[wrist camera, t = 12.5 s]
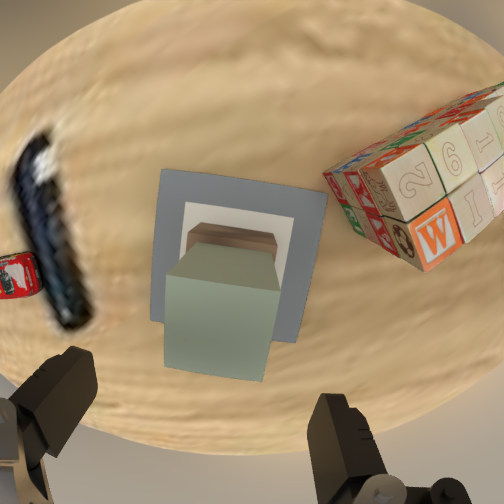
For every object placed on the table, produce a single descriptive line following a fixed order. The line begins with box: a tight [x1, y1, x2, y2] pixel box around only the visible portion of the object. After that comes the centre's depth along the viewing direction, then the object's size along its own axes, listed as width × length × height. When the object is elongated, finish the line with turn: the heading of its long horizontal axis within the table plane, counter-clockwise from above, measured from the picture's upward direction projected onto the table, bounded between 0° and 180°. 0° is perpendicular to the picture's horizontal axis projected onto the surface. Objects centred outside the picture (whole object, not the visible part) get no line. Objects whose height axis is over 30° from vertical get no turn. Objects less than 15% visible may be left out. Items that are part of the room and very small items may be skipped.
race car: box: [0, 252, 43, 299], centre depth 25 cm, size 13×5×4 cm, turn 96°
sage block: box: [164, 242, 281, 382], centre depth 16 cm, size 5×5×7 cm
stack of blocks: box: [323, 82, 504, 273], centre depth 17 cm, size 21×6×12 cm, turn 122°
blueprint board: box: [150, 169, 328, 343], centre depth 22 cm, size 14×14×6 cm
